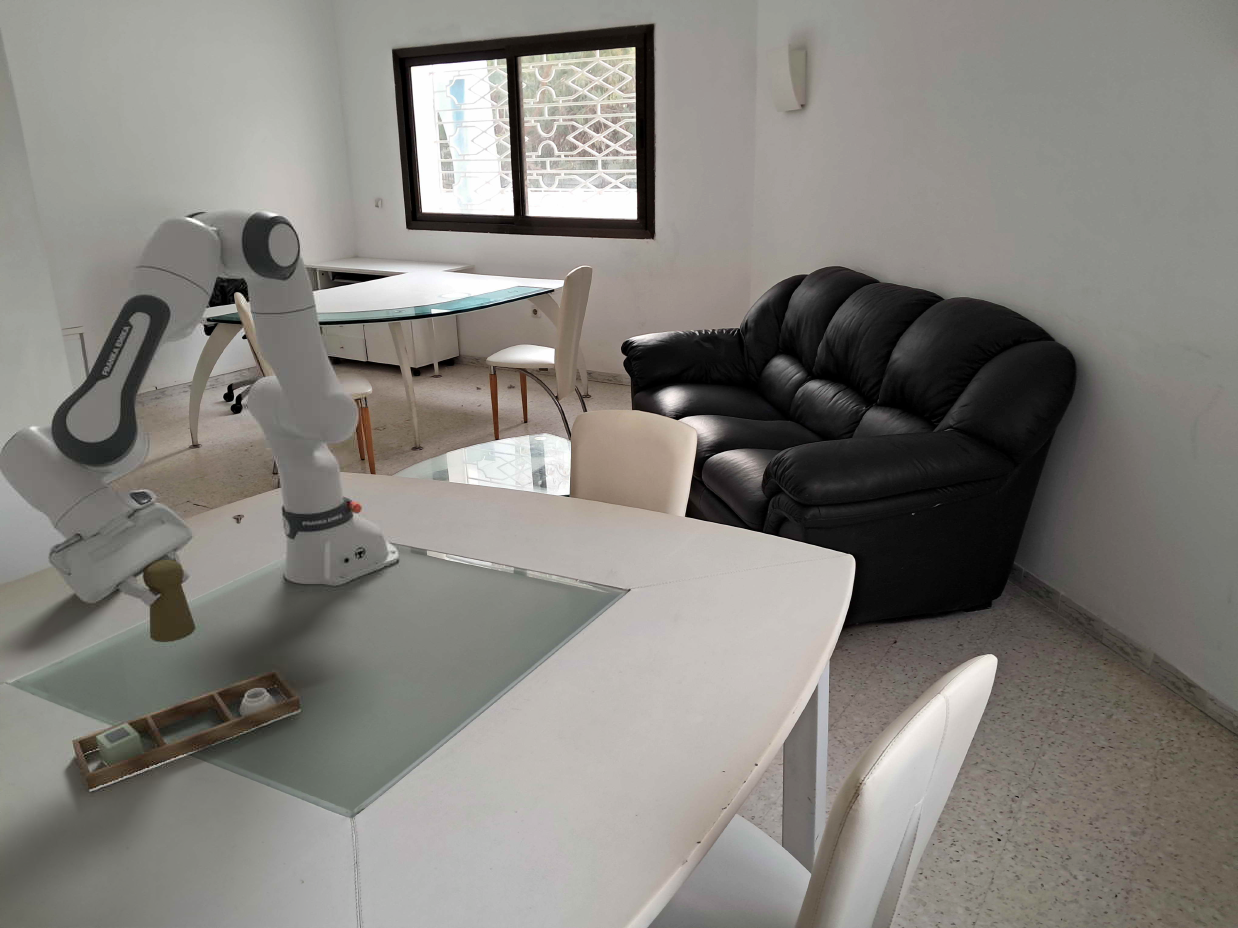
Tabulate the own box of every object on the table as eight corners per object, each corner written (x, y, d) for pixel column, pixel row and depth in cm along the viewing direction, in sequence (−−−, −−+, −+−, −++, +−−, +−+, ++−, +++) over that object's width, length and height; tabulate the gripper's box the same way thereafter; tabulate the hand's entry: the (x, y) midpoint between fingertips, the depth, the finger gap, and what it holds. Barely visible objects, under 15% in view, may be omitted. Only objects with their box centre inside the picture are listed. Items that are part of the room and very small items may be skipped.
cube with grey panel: (131, 746, 123) (126, 721, 122) (144, 758, 121) (138, 733, 119) (101, 760, 120) (95, 735, 119) (113, 773, 118) (107, 747, 116)
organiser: (278, 683, 138) (276, 669, 137) (301, 711, 131) (299, 697, 130) (75, 755, 121) (72, 740, 120) (89, 792, 114) (85, 776, 113)
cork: (177, 644, 126) (165, 575, 122) (140, 639, 127) (127, 570, 123) (204, 624, 131) (194, 557, 128) (169, 619, 132) (157, 553, 129)
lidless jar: (282, 708, 132) (264, 696, 135) (279, 692, 131) (261, 680, 134) (251, 724, 128) (233, 711, 131) (248, 707, 127) (230, 694, 130)
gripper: (51, 538, 114) (130, 613, 116) (158, 485, 133) (224, 550, 135) (29, 566, 117) (106, 638, 118) (137, 510, 136) (202, 573, 137)
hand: (170, 591), depth 127 cm, fingers closed on cork, 5 cm apart
